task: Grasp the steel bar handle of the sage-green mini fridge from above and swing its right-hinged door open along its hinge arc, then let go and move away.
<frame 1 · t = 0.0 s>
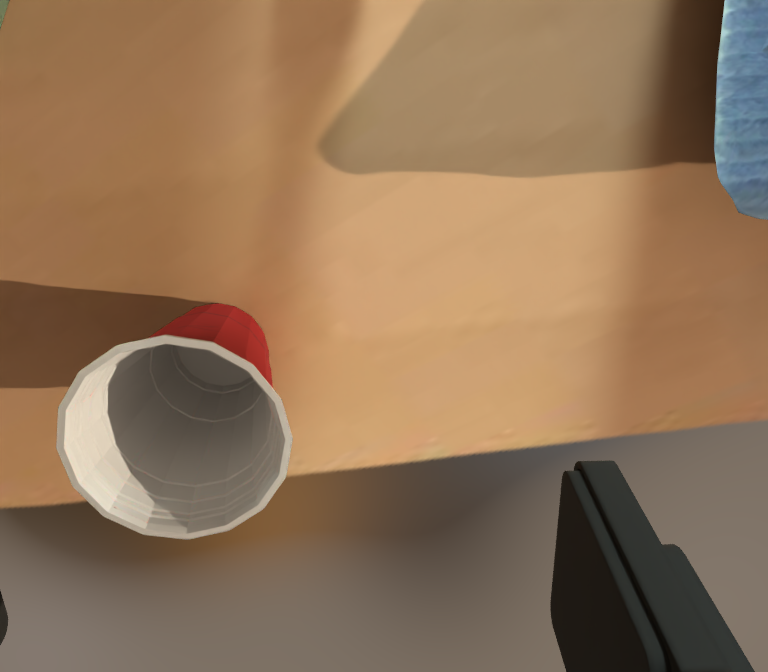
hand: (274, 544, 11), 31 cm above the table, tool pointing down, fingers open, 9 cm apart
plastic cup: (224, 343, 44), on the table
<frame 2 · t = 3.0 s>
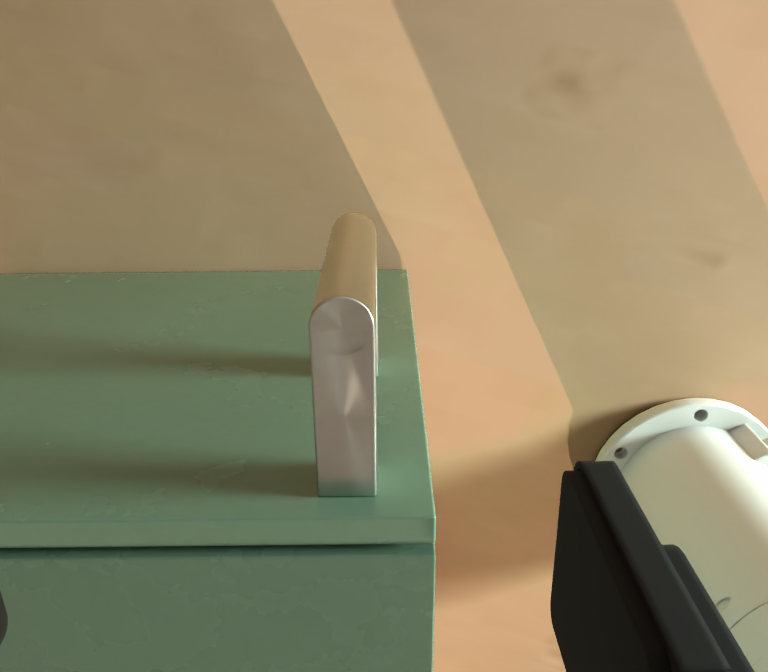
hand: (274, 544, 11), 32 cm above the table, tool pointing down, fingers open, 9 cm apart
mini fridge: (221, 413, 46), on the table
fridge door: (134, 294, 30), point 12 cm above the table, hinge at 0.0°
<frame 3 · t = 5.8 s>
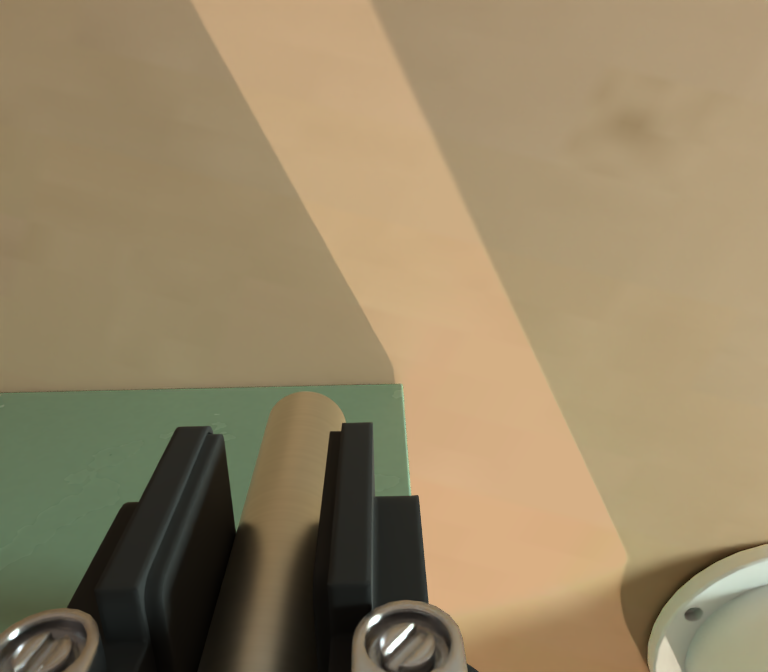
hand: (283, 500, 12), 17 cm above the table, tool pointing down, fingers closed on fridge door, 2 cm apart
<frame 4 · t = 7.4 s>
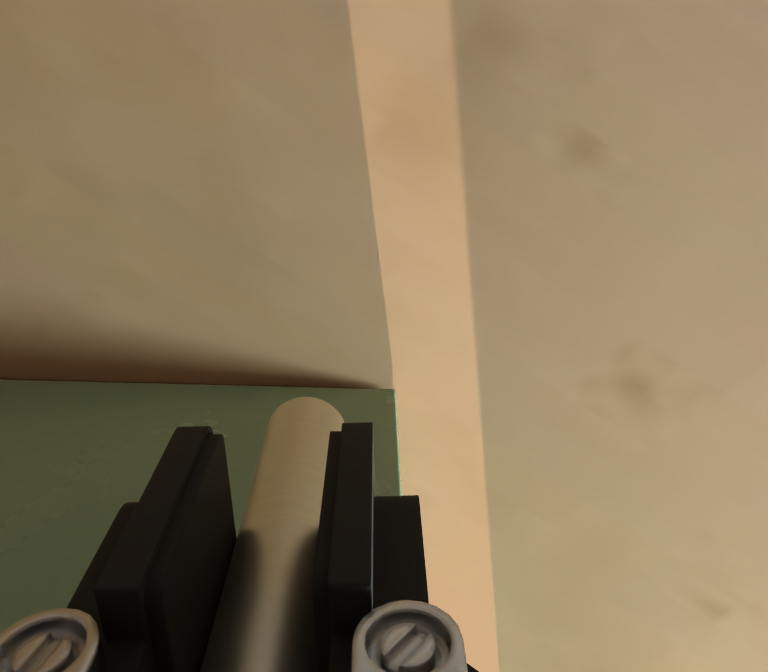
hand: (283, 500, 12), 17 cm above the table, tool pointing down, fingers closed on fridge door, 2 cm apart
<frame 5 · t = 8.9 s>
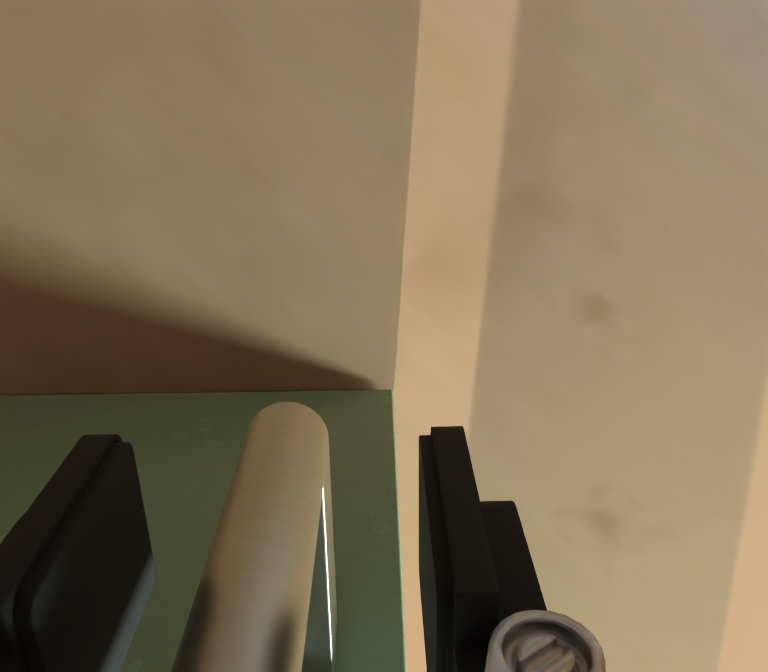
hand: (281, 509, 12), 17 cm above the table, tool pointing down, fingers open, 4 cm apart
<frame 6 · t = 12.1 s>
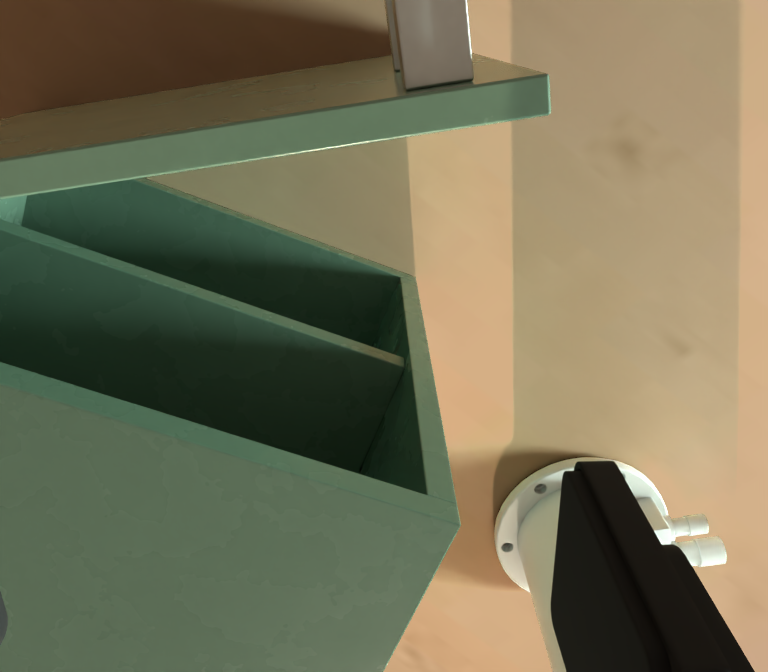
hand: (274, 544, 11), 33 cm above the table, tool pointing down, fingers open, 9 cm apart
mini fridge: (192, 330, 46), on the table
fridge door: (164, 29, 28), point 12 cm above the table, hinge at 29.5°
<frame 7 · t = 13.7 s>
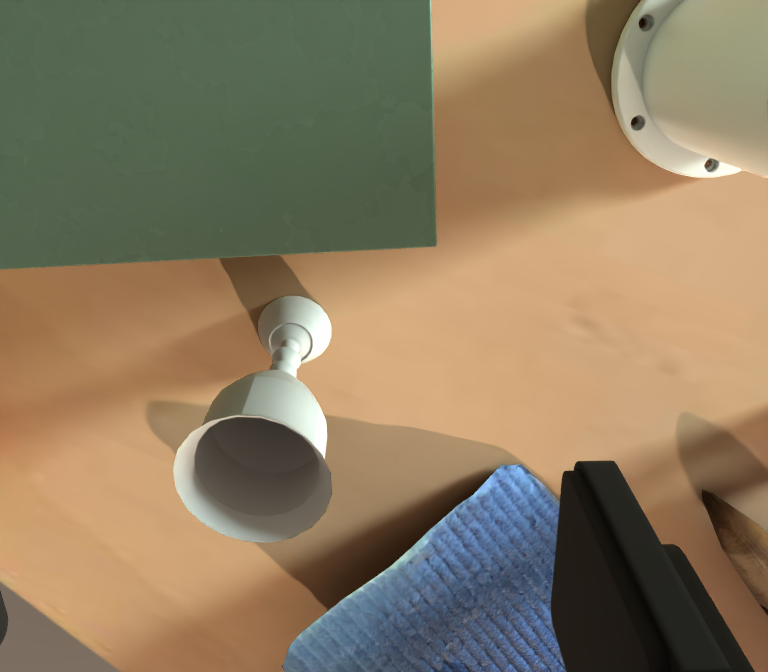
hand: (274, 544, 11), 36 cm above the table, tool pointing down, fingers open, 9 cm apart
chalice: (294, 328, 49), on the table
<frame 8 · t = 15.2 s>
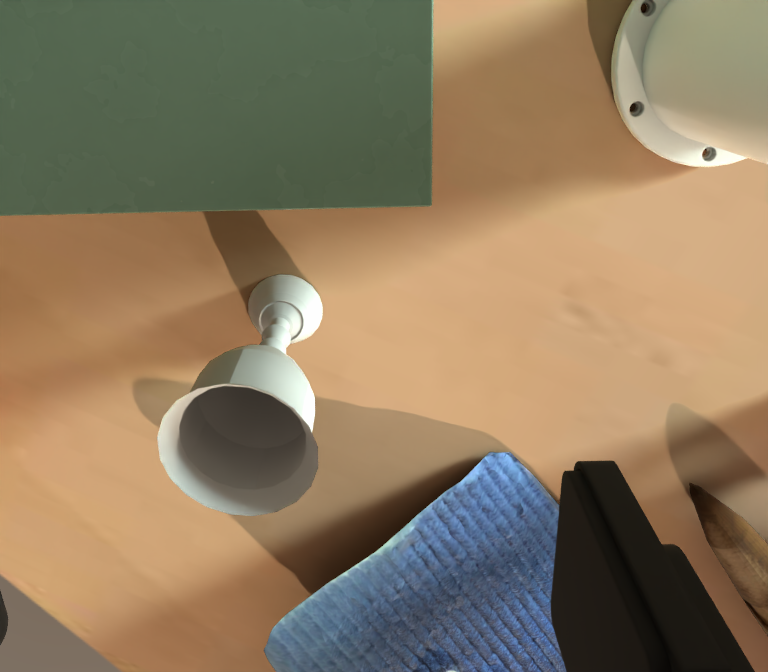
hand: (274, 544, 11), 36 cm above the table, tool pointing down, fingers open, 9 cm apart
chalice: (285, 308, 49), on the table
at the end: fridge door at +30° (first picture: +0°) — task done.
